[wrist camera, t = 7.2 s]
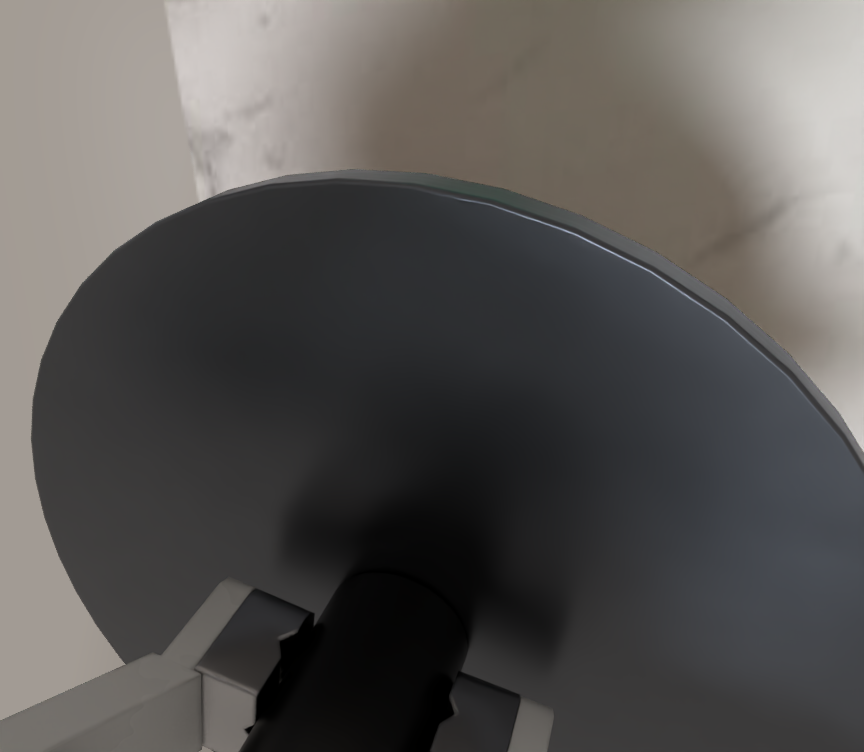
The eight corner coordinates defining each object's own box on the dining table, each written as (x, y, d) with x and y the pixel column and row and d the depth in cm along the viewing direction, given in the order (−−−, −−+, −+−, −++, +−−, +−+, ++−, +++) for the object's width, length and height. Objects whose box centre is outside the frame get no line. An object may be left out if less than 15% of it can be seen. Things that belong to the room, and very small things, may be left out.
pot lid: (108, 668, 18) (-57, 859, 14) (31, 48, 10) (-384, 88, 6) (685, 929, 15) (679, 1255, 11) (1178, 349, 7) (1694, 752, 4)
